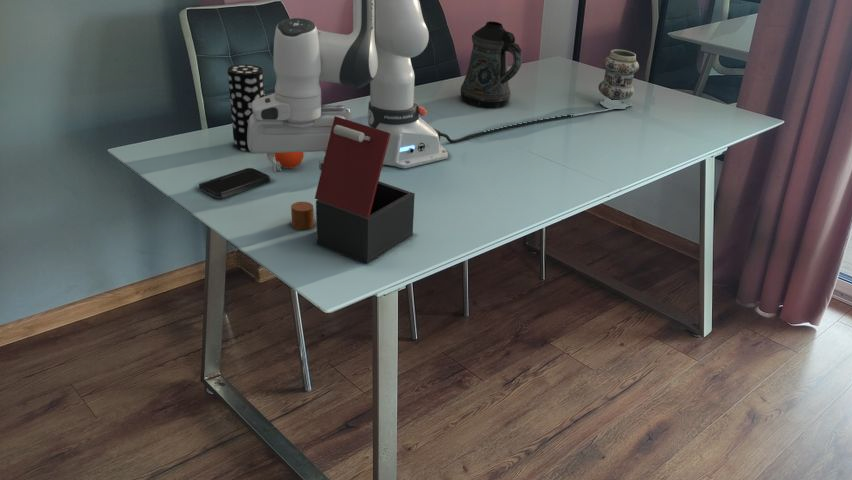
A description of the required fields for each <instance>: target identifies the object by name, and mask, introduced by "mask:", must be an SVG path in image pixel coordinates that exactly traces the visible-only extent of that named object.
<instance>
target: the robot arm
mask: <svg viewBox="0 0 852 480" xmlns="http://www.w3.org/2000/svg"><path fill="white" fill-rule="evenodd" d="M352 10H353V11H352V32H351V33H350V34H349V33H348V34H343V33H336V32H331V31H326V30H321V29H318V28H317V26H316V24H315V22H313V21H311V20H310V19H307V18H302V17H301V18H300V17H293V18H287V19H284V20H282V21H280V22H278V23H277V25H276V27H275V31H274V38H273V71H274V73H275V79H276V81H275V85H274V92H273V93H271V94H268V95H264V97H262V98H258V99H255V100H253V102H252V111H253V114H252V115H251V116H250V118H249V121H248V130H247V144H248V149H249V150H250V151H249V152H251V153H252V154H266V157H267V160H269V163H270V164H271V166H272V172H273V173H281V172H282V169H281V168H282V166H281V165H280V162H277V161H276V159H275V154H274V153H287V152H303V153H311V152H313V153H315V152H316V153H317V152H324V155H325V154H326V150H327V146H328V142H329V138H330V133H331V129H332V125H333V121H334V117H335V116H336V117H340V118H343V119H346V120H350V121H352V113H351V111H350V109H349V108H347V107H344V105H341V104H338V105H330V104H329V105H325V104H324V105H323V104H322V89H321V85H320V81H322V82H329V83H336V84H341V85H342V86H343V85H344V86H345V87H350V88H355V89H361V88H364V87H365V86H367V85H368V84H369V87H370V88H369V102H368V108H367V122H368V123H367V124H368V126H369V127H372V128H375V129H379V130H382V131H385V132H388V133H391V135H390V138H389V142H388V146H387V150H386V154H385V158H384V162H383V165H384V166H392V167H395V168H400V169H410V168H414V167H419V166H422V165H426V164H431V163H434V162H438V161H443V160H448V157H449V155H448V154H449V153H448V150H447V149H446V148H445V147H444V145H442V144H441V137H443V138H445V139H446V140H447V142H448V143H450V144H456V143H461V142H463V141H465V140H468V139H472V138H475V137H479V136H480V137H481V136H483V135H487V134H492V133H495V132H500V131H504V130H509V129H513V128H517V127H522V126H523V127H524V126H528V125H533V124H538V123H543V122H549V121H555V120H561V119H562V120H563V119H568V118H572V117H571V115H569V114H566V115H567V116H563V115H560V116H561V117H557V116H554V117H555V118H550V117H548V118H549V119H544V118H542V119H543V120H539V119H536V120H537V121H533V120H531V121H532V122H528V121H526V122H527V123H523V122H521V123H522V124H518V123H516V124H517V125H513V124H511V125H512V126H508V125H506V126H507V127H504V126H502V127H503V128H499V127H498V128H499V129H495V128H493V129H494V130H491V129H488V130H490V131H488V130H487V129H486V130H483V131H479V132H475V133H472V134H471V133H470V134H467V135H465V136H463V137H460V138H456V139H452V138H450V136H449V135H448V134H447V133H444V132H441V131H440V130H438V129H436V128H434V127H432V126H431V125H430V124H428V122H426V121H425V120H424V119H422V118H421V117H425V116H426V115H427V114H428V112H427V109H426V108H425V107H423V106H420V105H418V104H417V103H415V102H414V101H415V81H416V80H415V78H416V75H415V71H414V68H413V65H412V60H411V58H412V59H413V58H415V57H418V56H419V55H421V54H422V53H423V52H424V51H425V49H426V48H427V47H428V44H429V38H430V36H429V35H430V33H429V29H428V27H427V25H426V21H425V20H424V16H423V12H422V7H421V1H420V0H352ZM420 116H421V117H420ZM572 116H573V115H572ZM484 131H486V132H484ZM324 158H325V156H324V157H323V159H319V160H318V168H319V171H320V172H321V170H322V166H323V162H324Z"/></svg>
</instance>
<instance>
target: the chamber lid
mask: <svg viewBox="0 0 852 480" xmlns="http://www.w3.org/2000/svg"><path fill="white" fill-rule="evenodd" d="M390 135H391V133H388V132H385V131H382V130H379V129H375V128H372V127H369V125H365V124H362V123H359V122H356V121H352V120H351V121H350V120H346V119H343V118H340V117H336V116H335V117H334V121H333V125H332V129H331V133H330V138H329V142H328V146H327V150H326V154H325V153H324V157H325V158H324V157H323V159H324V162H323V166H322V170H321V171H320V175H319V179H318V183H317V187H316V191H315V196H314V199H315V200H316V201H317V200H320V201H323V202H325V203H328V204H331V205H334V206H336V207H339V208H342V209H345V210H347V211H350V212H353V213H356V214H358V215H361V216H364V217H367V218H369V216H370V212H371V208H372V204H373V201H374V197H375V193H376V189H377V185H378V181H380V176H381V173H382V169H383V162H384V158H385V154H386V150H387V146H388V142H389V138H390Z"/></svg>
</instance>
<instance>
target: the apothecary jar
mask: <svg viewBox="0 0 852 480" xmlns="http://www.w3.org/2000/svg"><path fill="white" fill-rule="evenodd" d="M602 64H603V66H604V68H605V73H604V77H603V80H602V81H601V82H600V83H599V84H598V91H599V93H600V94H601V95H602V96H604V97H606V98H607V99H608V98H609V99H611V100H620V101H623V100H627V99H630V98H632V96H634V94H635V89H634V87H633V81H634V76H635V73H637V72H638V70H639V69H640V64H639V62H638V61H637V54H636V53H635V52H632V51H629V50H625V49H619V48H617V49H612V50H610V53H609V55H608V56H606V57H605V59H604V60H603V63H602Z"/></svg>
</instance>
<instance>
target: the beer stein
mask: <svg viewBox="0 0 852 480" xmlns="http://www.w3.org/2000/svg"><path fill="white" fill-rule="evenodd" d="M471 41H472V48H471V49H472V50H471V54H470V59H469V63H468V67H467V70H466V75H465V77H464V80H463V82H462V84H461V86H460V98H461V102H463V103H464V104H467V105H469V106H472V107H475V108H480V109H499V108H504V107H506V106H508V104H509V102H510V99H511V94H512V93H511V89H510V84H509V81H511V79H513V78H514V77H515V76H516V75H517V73H518V72H519V71H520V69H521V66H522V65H523V53H522V49H521V47H520V45H519V44H518V43H516V37H515V35H514V33H512V32H510V31H507V30H506V29H505V28H504V26H503V24H502V23H501V22H497V21H487V22H486V24H485V25H484V26H482V27H481V28H479V29H477V30H476V31H474V33H473V34H472V35H471ZM508 53H510V54H511V55H512V58H513V63H512V65H511V67H510V68H509V67H508V66H509V65H508V64H509V61H508V59H509V58H508ZM508 68H509V69H508Z"/></svg>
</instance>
